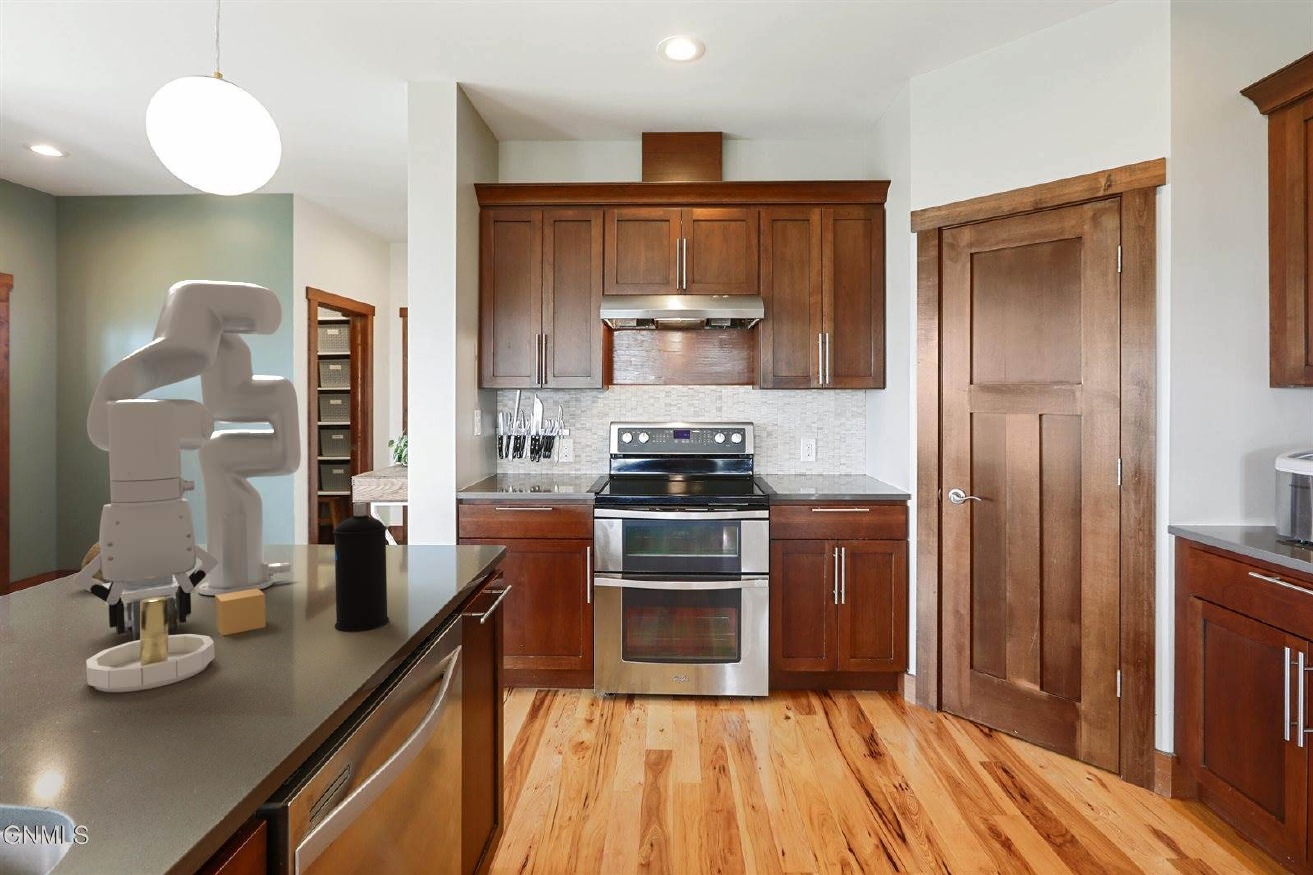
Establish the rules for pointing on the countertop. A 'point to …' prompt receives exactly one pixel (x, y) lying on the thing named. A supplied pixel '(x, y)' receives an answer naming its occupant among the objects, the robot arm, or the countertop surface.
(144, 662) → the pin
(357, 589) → the aerosol can
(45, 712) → the countertop surface
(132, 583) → the white stand
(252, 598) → the orange cube
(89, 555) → the natural sponge
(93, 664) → the dish
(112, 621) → the robot arm
